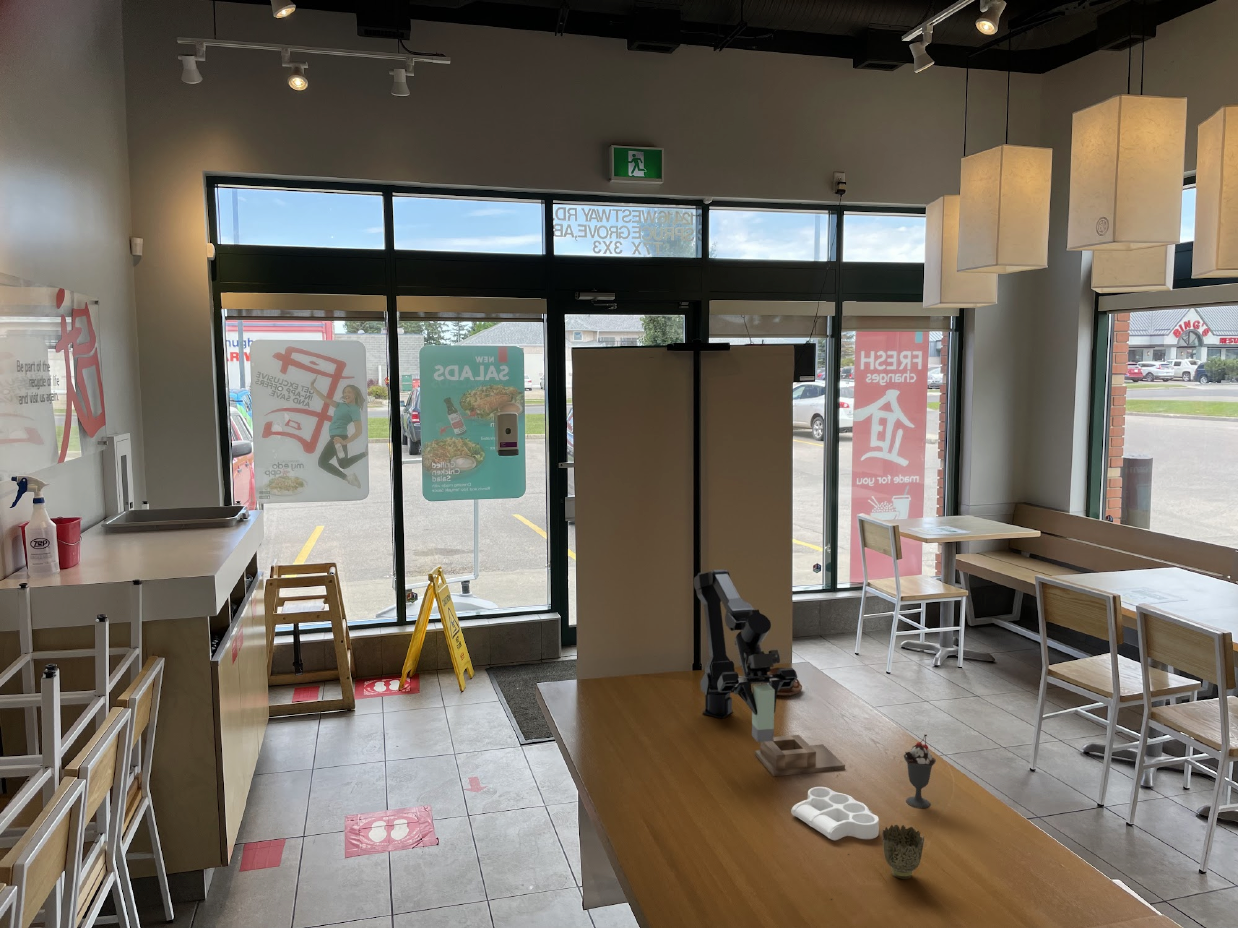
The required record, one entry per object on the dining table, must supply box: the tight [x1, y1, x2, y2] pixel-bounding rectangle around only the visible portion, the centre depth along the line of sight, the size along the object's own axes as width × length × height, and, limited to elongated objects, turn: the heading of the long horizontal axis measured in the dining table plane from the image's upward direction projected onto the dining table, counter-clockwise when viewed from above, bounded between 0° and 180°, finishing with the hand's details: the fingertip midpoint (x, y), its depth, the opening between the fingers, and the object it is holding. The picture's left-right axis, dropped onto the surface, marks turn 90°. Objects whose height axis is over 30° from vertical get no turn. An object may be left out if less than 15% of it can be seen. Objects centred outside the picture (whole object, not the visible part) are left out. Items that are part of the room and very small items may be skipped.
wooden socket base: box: [754, 734, 846, 777], centre depth 209 cm, size 18×12×4 cm, turn 102°
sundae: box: [903, 734, 937, 809], centre depth 188 cm, size 7×7×15 cm
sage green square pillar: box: [751, 683, 775, 743], centre depth 206 cm, size 4×4×12 cm
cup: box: [881, 824, 925, 880], centre depth 161 cm, size 8×7×8 cm
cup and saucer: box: [760, 667, 803, 697], centre depth 256 cm, size 12×12×6 cm
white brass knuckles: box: [790, 786, 880, 841], centre depth 181 cm, size 3×18×15 cm
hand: (765, 713), depth 204 cm, fingers closed on sage green square pillar, 4 cm apart
